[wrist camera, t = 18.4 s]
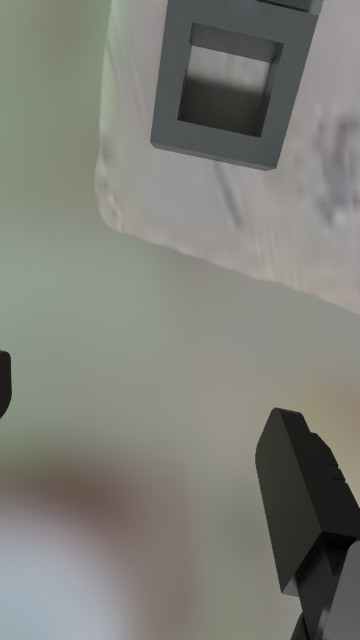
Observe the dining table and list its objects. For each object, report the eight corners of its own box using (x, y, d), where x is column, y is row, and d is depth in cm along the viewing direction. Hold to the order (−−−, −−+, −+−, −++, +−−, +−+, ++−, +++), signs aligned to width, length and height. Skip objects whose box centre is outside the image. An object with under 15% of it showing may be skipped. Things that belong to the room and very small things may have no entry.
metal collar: (300, 39, 33) (318, 15, 29) (265, 170, 38) (276, 168, 34) (173, 10, 32) (170, -20, 28) (154, 147, 38) (150, 142, 33)
